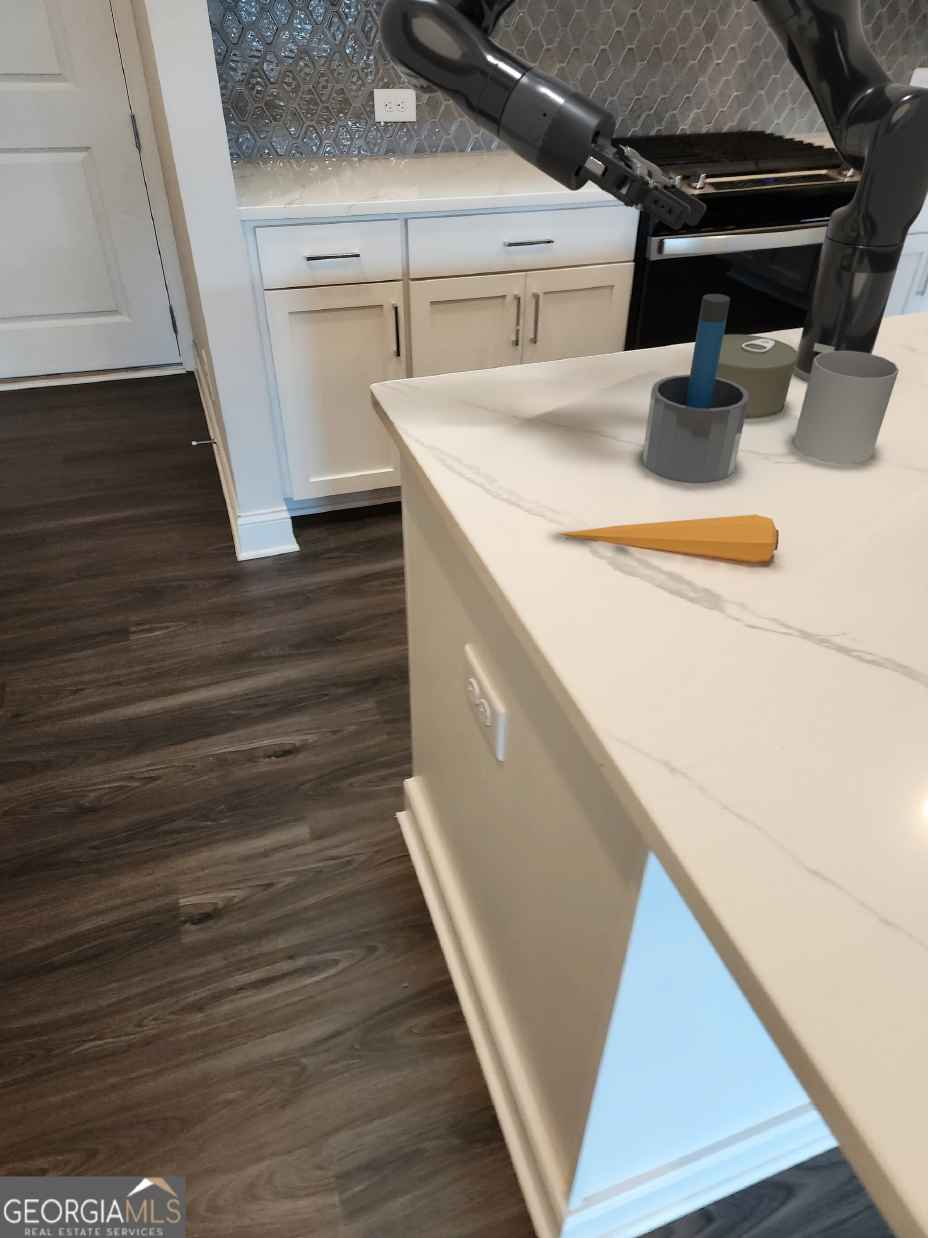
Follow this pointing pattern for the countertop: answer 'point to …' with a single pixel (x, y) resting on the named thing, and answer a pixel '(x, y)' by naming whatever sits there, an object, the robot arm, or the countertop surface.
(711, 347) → the marker
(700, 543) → the carrot
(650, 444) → the pen pot
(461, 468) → the countertop surface
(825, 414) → the cup
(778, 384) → the can
